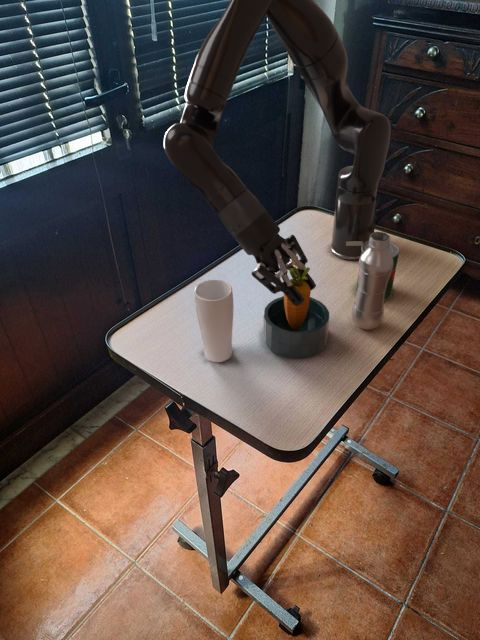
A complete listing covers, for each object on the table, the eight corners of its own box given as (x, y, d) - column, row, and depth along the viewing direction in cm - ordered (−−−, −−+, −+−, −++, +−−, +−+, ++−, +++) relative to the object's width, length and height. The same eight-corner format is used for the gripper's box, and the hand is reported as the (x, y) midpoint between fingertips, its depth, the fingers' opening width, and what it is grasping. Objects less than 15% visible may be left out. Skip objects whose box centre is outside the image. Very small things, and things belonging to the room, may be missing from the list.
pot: (302, 311, 110) (304, 288, 106) (339, 344, 102) (342, 319, 98) (252, 331, 105) (251, 307, 101) (286, 366, 97) (287, 342, 93)
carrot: (308, 324, 104) (312, 260, 94) (307, 340, 101) (311, 275, 91) (283, 323, 105) (285, 259, 95) (281, 339, 101) (283, 273, 91)
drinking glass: (204, 369, 96) (197, 303, 87) (197, 346, 101) (190, 282, 92) (239, 362, 98) (237, 297, 88) (231, 340, 103) (227, 276, 93)
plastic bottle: (371, 311, 110) (385, 225, 97) (388, 329, 105) (405, 241, 92) (344, 317, 108) (355, 231, 95) (360, 336, 103) (374, 248, 90)
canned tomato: (398, 296, 114) (407, 252, 107) (369, 305, 111) (376, 261, 104) (376, 278, 120) (384, 236, 112) (348, 287, 117) (354, 244, 110)
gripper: (240, 229, 85) (304, 308, 88) (280, 196, 94) (335, 269, 98) (215, 250, 90) (276, 324, 94) (255, 216, 100) (308, 285, 103)
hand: (306, 295), depth 96 cm, fingers closed on carrot, 4 cm apart
